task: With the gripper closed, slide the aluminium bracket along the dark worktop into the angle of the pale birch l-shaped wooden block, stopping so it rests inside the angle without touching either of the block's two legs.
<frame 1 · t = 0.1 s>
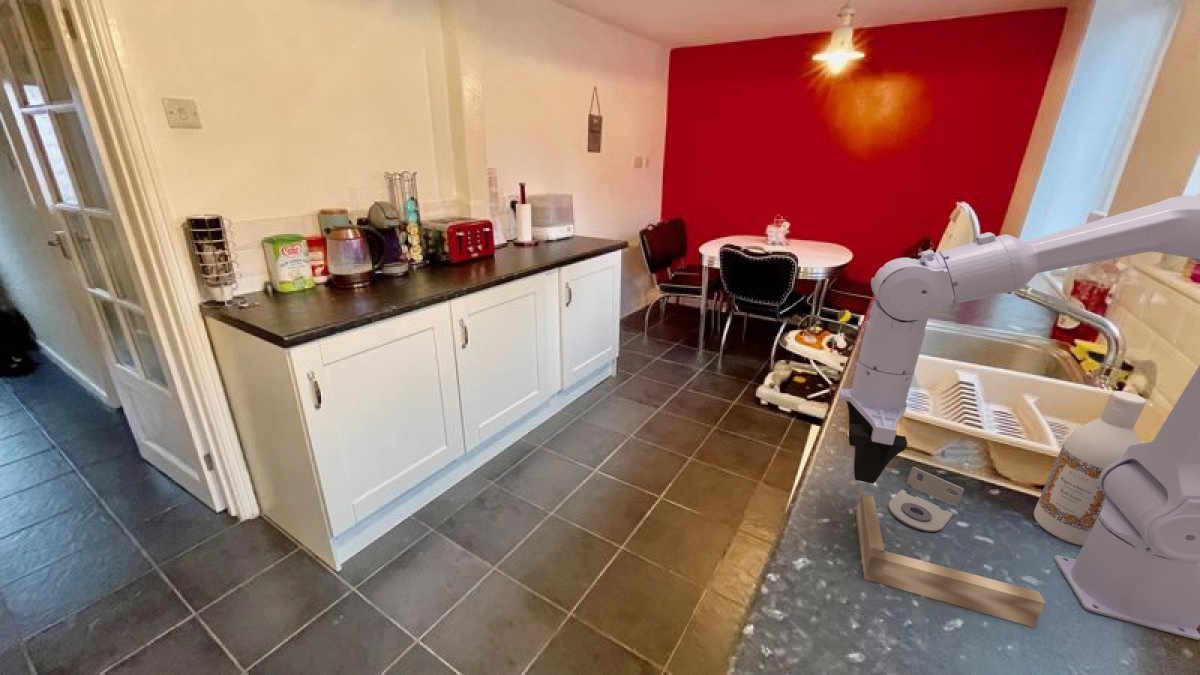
hand: (860, 462, 61), 10 cm above the table, tool pointing down, fingers open, 7 cm apart
bath foam: (1065, 529, 65), on the table
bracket: (922, 512, 68), on the table
l-shaped wooden block: (931, 558, 59), on the table
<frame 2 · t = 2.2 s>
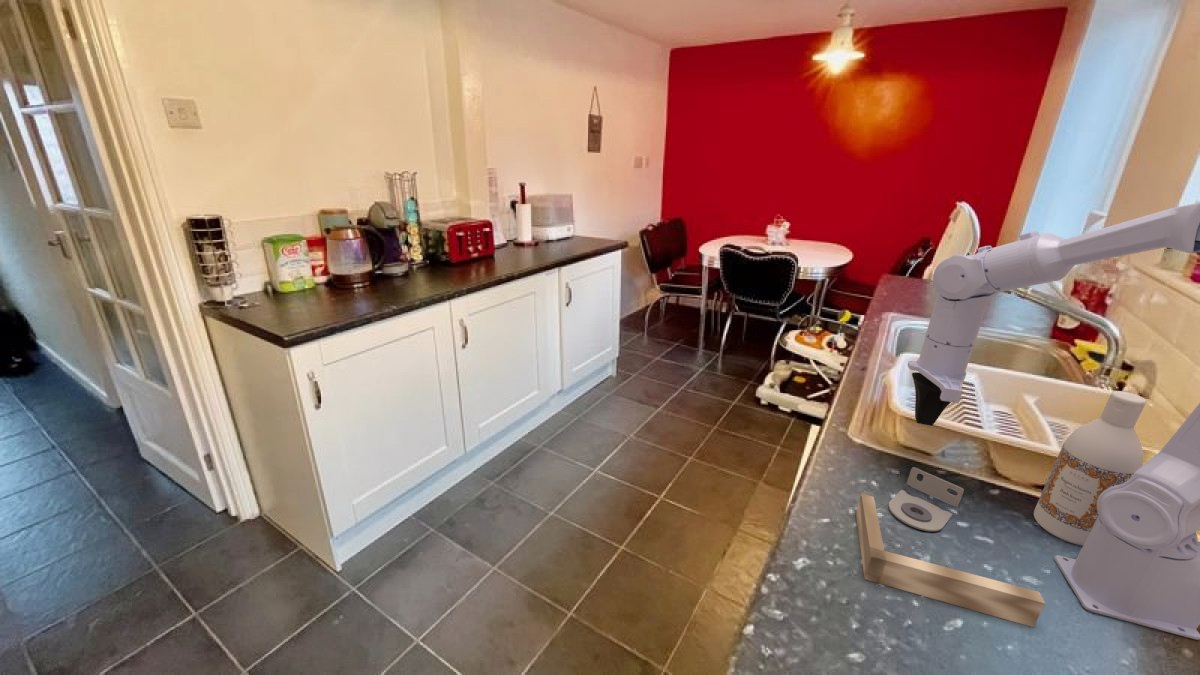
hand: (923, 422, 73), 8 cm above the table, tool pointing down, fingers closed
nothing on the table moved.
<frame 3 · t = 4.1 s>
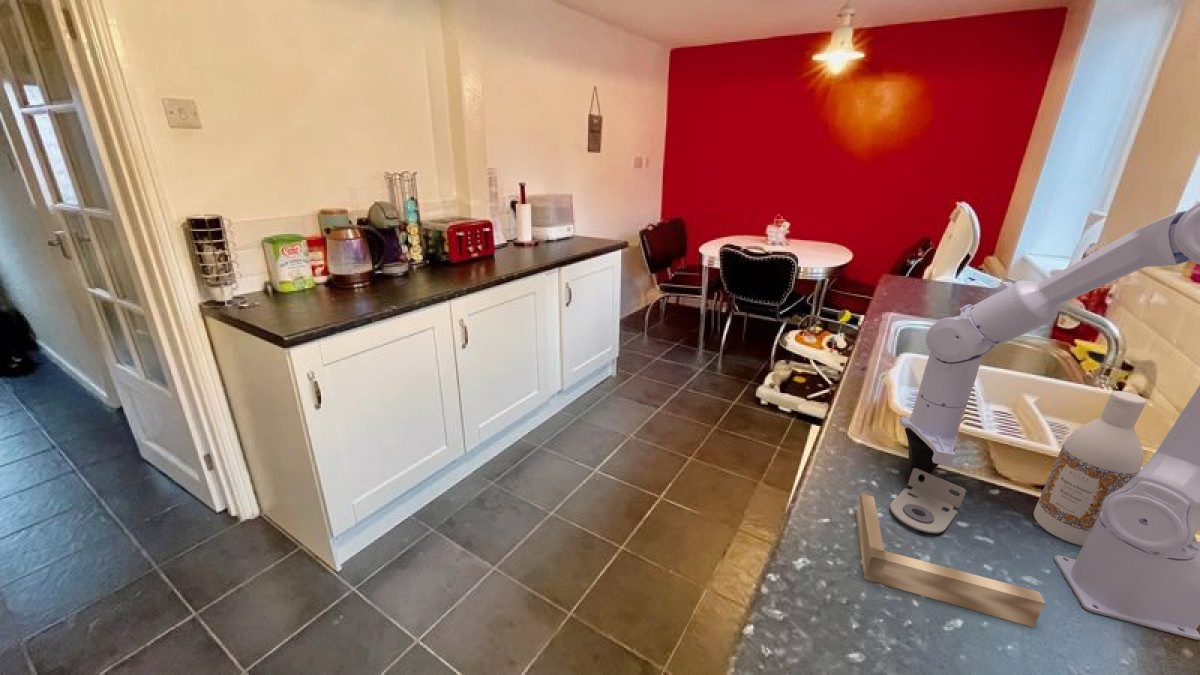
hand: (916, 477, 72), 1 cm above the table, tool pointing down, fingers closed
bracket: (924, 513, 67), on the table, touching gripper
everything else where it was.
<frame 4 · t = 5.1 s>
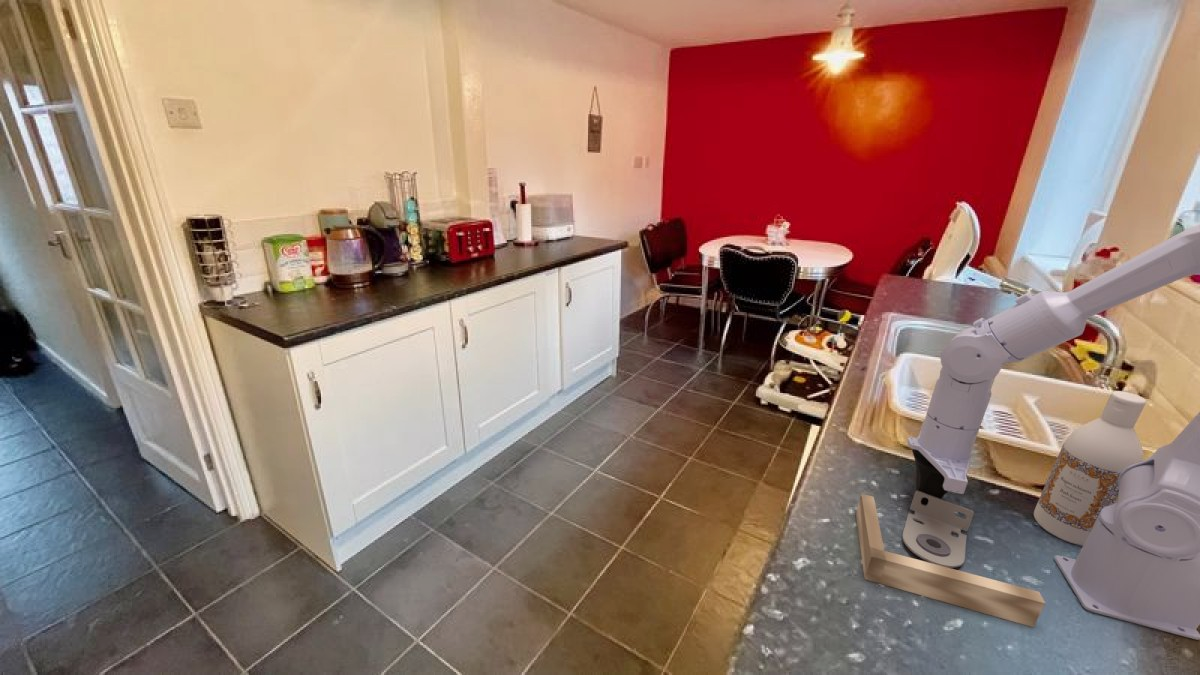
hand: (925, 502, 67), 1 cm above the table, tool pointing down, fingers closed
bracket: (935, 541, 62), on the table, touching gripper
everything else where it was.
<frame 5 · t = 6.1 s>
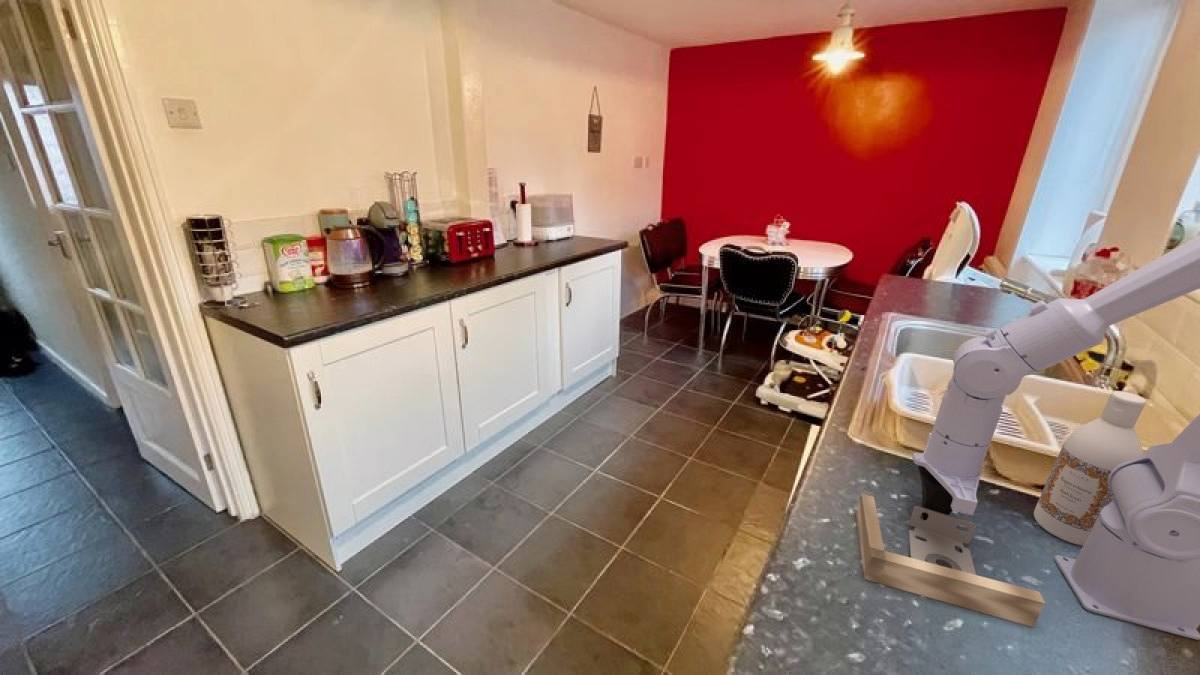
hand: (931, 520, 64), 1 cm above the table, tool pointing down, fingers closed
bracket: (941, 559, 59), on the table, touching l-shaped wooden block, gripper
everything else where it was.
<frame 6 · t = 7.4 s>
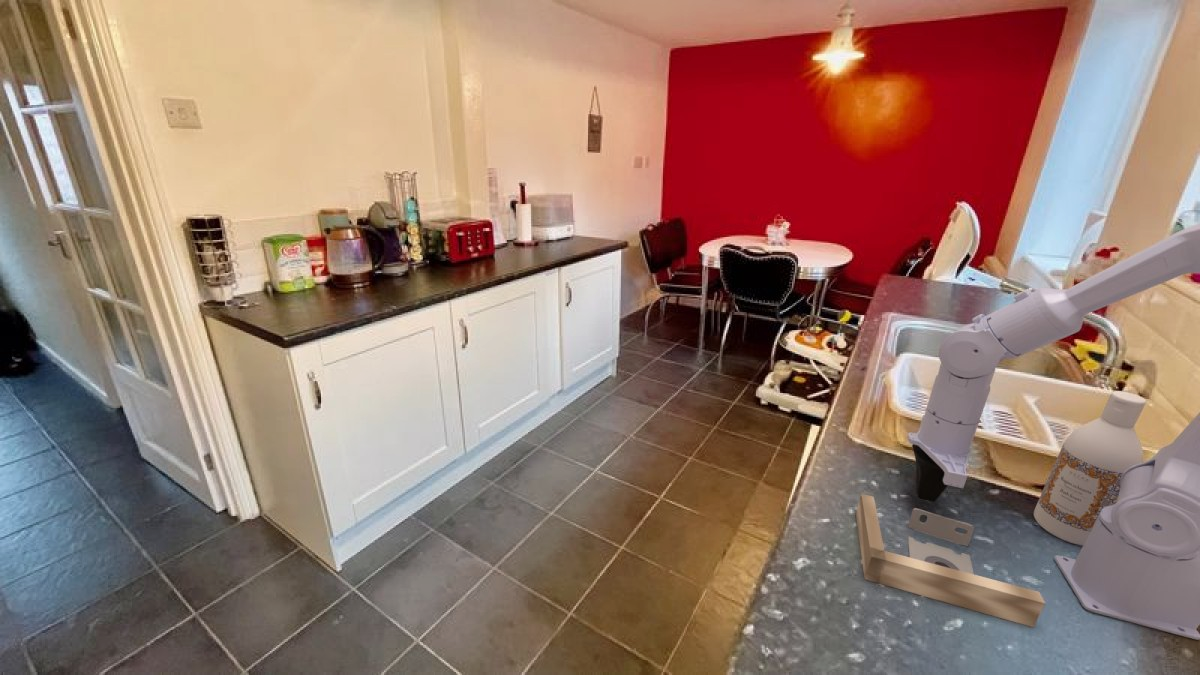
hand: (925, 497, 68), 1 cm above the table, tool pointing down, fingers closed
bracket: (940, 562, 60), on the table
everything else where it was.
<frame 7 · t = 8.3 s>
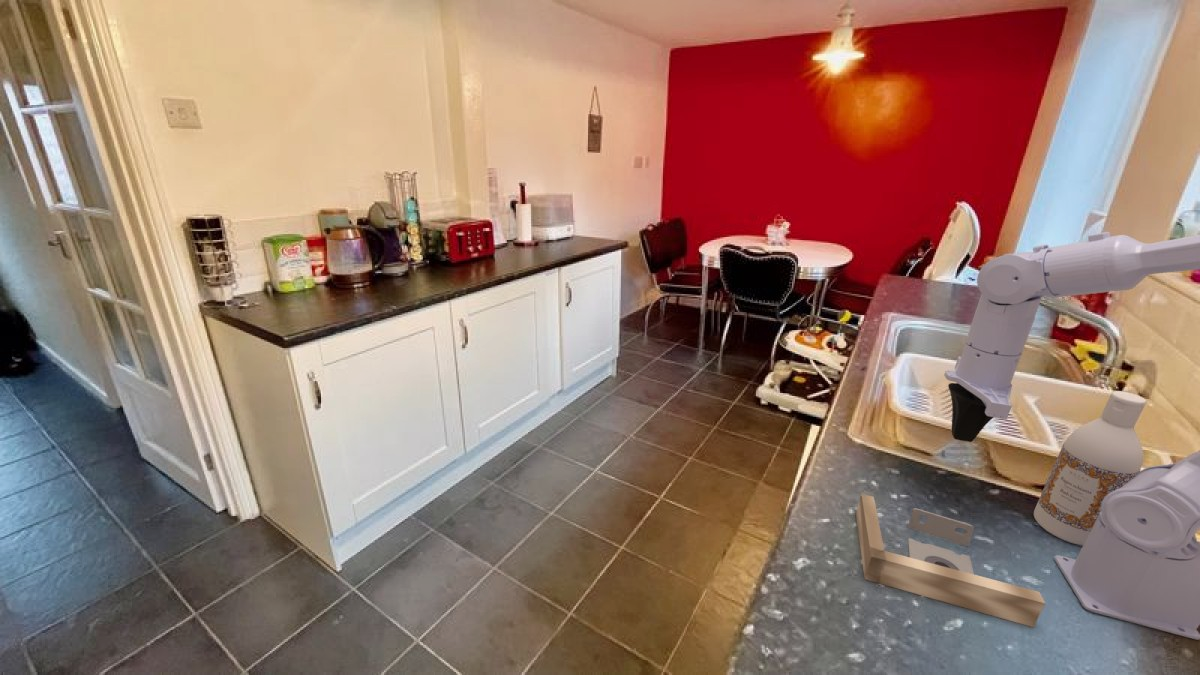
hand: (961, 438, 66), 10 cm above the table, tool pointing down, fingers closed
nothing on the table moved.
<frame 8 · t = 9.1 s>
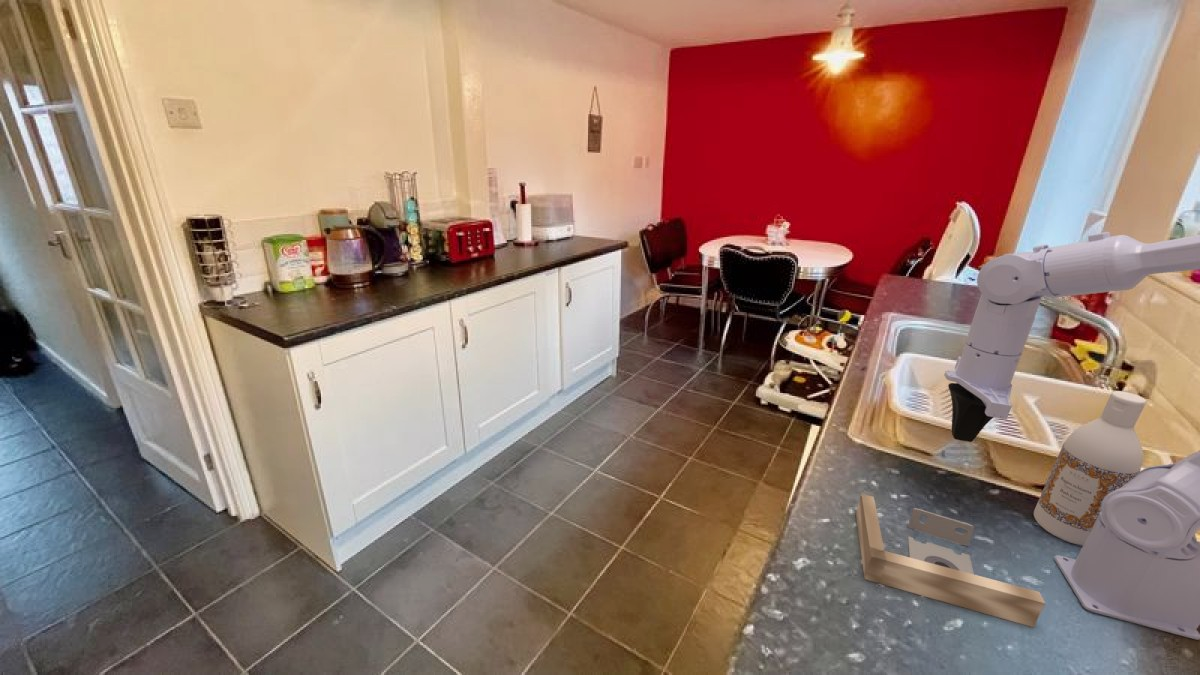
hand: (961, 438, 66), 10 cm above the table, tool pointing down, fingers closed
nothing on the table moved.
at the end: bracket inside the target area on the l-shaped wooden block (1.0 cm from its centre), point -0.6 cm above the l-shaped wooden block's base; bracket touching table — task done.
